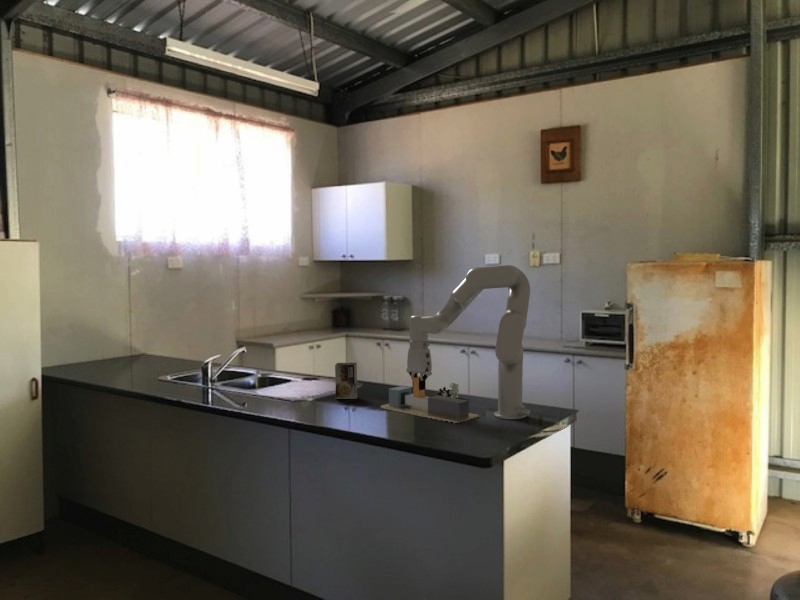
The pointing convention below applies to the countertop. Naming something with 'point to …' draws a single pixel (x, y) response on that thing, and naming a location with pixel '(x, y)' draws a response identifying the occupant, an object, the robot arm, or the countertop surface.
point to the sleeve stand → (439, 409)
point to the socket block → (398, 395)
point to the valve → (450, 391)
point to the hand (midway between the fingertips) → (419, 388)
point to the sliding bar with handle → (417, 396)
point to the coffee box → (346, 380)
